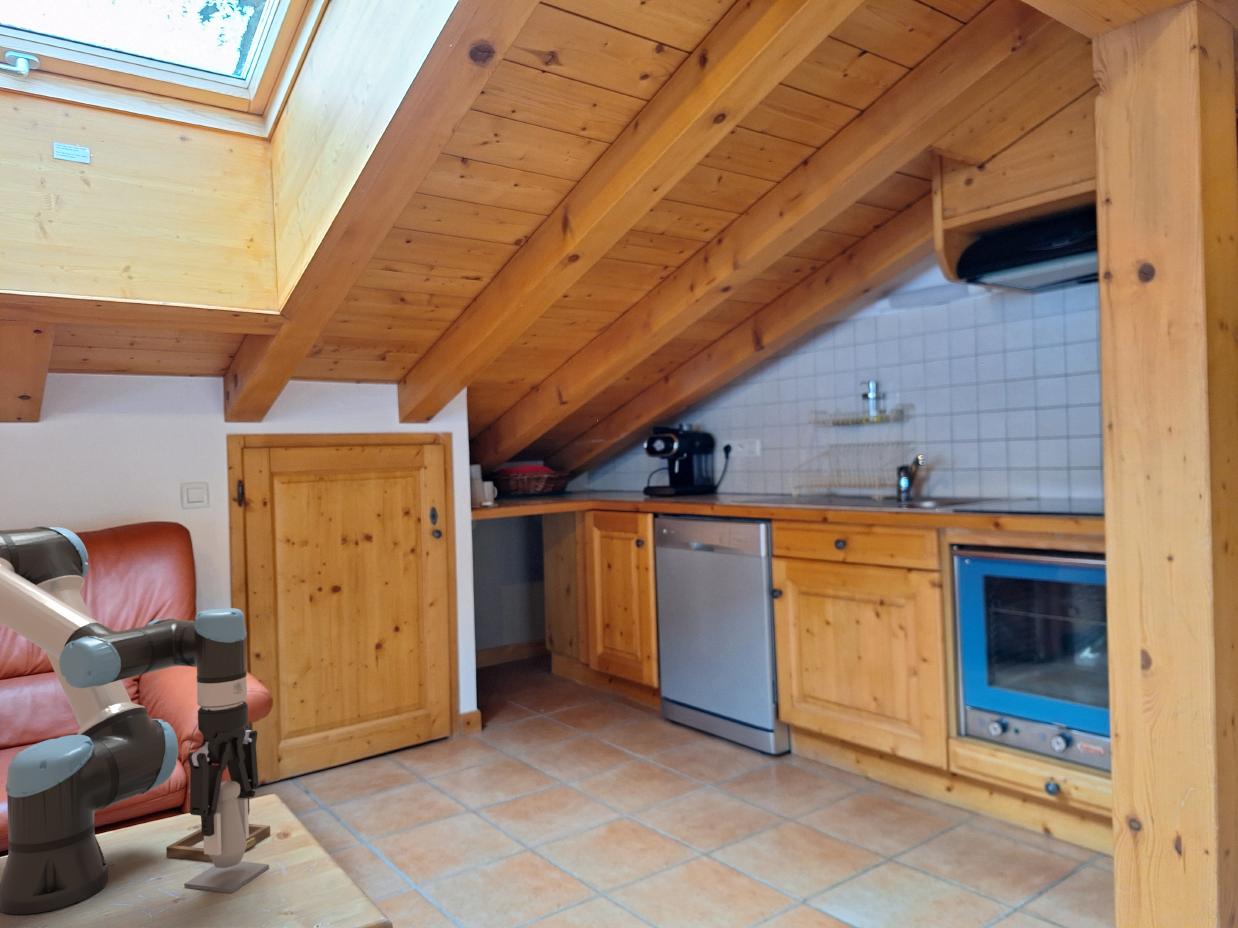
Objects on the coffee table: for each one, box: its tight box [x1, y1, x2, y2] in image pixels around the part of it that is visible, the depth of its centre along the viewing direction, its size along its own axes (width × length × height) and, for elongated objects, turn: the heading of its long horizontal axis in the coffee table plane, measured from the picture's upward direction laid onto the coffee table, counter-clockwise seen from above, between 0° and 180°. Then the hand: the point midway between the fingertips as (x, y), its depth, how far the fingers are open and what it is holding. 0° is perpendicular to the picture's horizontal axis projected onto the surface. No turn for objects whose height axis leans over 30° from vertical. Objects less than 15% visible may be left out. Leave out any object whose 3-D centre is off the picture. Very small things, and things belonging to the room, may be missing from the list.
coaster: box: [184, 860, 270, 894], centre depth 145 cm, size 9×9×1 cm
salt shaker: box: [208, 780, 247, 868], centre depth 145 cm, size 6×6×13 cm
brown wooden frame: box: [165, 823, 271, 862], centre depth 158 cm, size 13×12×2 cm
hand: (226, 844), depth 145 cm, fingers closed on salt shaker, 6 cm apart
